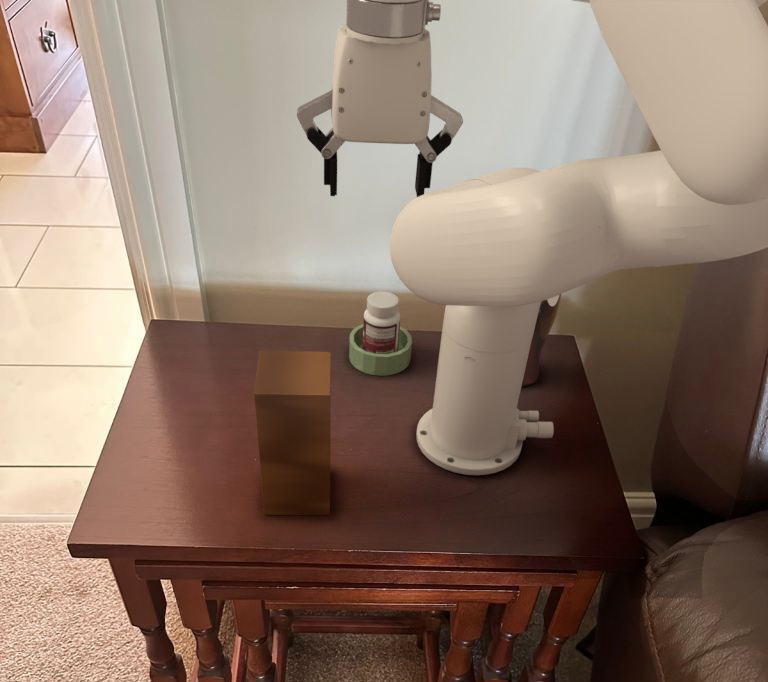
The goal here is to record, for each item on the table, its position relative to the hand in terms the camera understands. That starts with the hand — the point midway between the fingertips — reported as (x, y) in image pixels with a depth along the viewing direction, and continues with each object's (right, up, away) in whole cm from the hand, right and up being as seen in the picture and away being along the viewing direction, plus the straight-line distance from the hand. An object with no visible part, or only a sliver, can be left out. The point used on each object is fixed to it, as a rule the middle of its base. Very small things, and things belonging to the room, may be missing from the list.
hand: (376, 192), depth 87 cm
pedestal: (-9, -34, -1) cm, 35 cm away
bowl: (0, -15, +17) cm, 23 cm away
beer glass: (+18, -17, +17) cm, 30 cm away
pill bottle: (0, -15, +17) cm, 23 cm away
